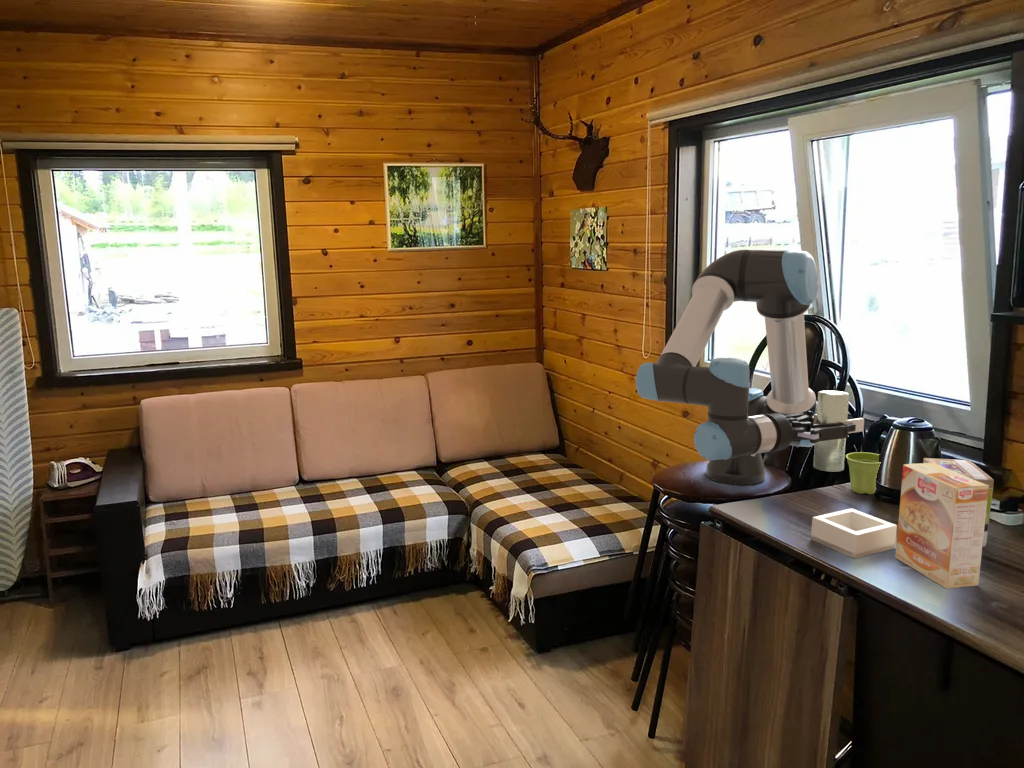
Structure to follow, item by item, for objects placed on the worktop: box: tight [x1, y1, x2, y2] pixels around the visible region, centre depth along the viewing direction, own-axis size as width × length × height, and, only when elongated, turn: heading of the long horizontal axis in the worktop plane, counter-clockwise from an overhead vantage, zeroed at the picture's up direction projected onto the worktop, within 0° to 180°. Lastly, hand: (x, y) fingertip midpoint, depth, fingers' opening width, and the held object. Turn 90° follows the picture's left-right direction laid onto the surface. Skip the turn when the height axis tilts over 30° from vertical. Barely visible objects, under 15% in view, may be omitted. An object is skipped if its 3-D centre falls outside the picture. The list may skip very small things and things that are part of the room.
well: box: [810, 507, 898, 559], centre depth 172 cm, size 12×12×5 cm
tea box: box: [922, 457, 995, 548], centre depth 176 cm, size 15×10×15 cm, turn 168°
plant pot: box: [845, 451, 881, 495], centre depth 205 cm, size 9×9×9 cm
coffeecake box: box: [894, 462, 989, 590], centre depth 157 cm, size 15×7×20 cm, turn 11°
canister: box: [812, 390, 850, 473], centre depth 173 cm, size 6×6×16 cm
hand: (849, 421), depth 175 cm, fingers closed on canister, 6 cm apart
